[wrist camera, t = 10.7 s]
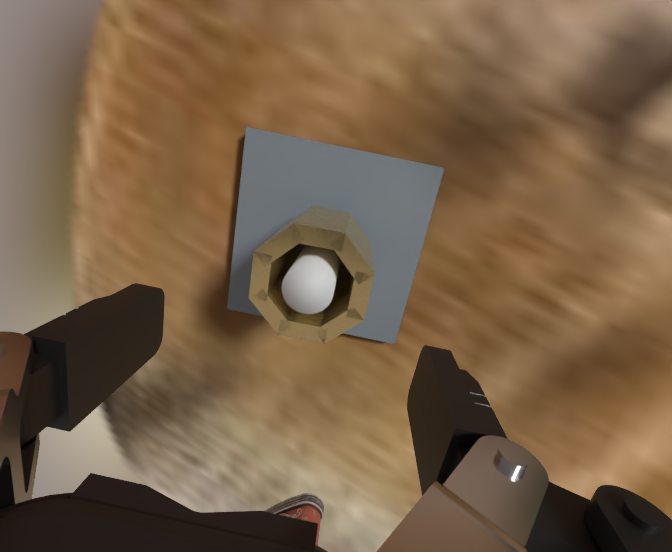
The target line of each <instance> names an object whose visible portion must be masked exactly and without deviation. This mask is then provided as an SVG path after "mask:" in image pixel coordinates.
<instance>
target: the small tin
mask: <svg viewBox="0 0 672 552" xmlns="http://www.w3.org/2000/svg"><path fill="white" fill-rule="evenodd" d="M323 511H324V504H323V502H322V500H321V499H320V498H319V497H317V496H316V495H313V494H308V493H306V494H302V495H299V496H296V497H293V498H290V499H287V500H285V501H283V502H281V503H279V504H276V505H274V506H273V507H271V508H270V509H268V510H267V511H265V512H269V513H273V514H278V515H282V516H287V517H291V518H296V519H301V520H305V521H310V522H314V523H318V529H317V536H316V544H315V545H318V536H319V527H320V521H321V520H322V519H323Z"/></svg>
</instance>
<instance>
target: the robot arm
mask: <svg viewBox="0 0 672 552" xmlns="http://www.w3.org/2000/svg"><path fill="white" fill-rule="evenodd" d="M163 318H164V292H163V290H162V289H160V288H156V287H151V286H146V285H142V284H137V283H135V284H132V285H130V286H128V287H126V288H124V289H122V290H120V291H118V292H117V293H115V294H113V295H110V296H106V297H102V298H98V299H94V300H92V301H90V302H88V303H86V304H84V305H82V306H80V307H79V308H78V309H74V310H72V311H70V312H68V313H66V315H62V316H60V317H58V318H56V319H54V320H52V321H50V322H48V323H46V324H44V325H42V326H40V327H38V328H36V329H34V330H32V331H30V332H28V333H26V334H20V333H15V332H0V552H327V551H326V550H324V549H322V548H321V547H319V546H317V545H315V544H316V536H317V529H318V523H314V522H310V521H305V520H301V519H296V518H291V517H287V516H282V515H278V514H273V513H269V512H264V511H245V512H213V513H199V512H195V511H192V510H190V509H188V508H187V507H185V506H183V505H181V504H179V503H177V502H176V501H174V500H172V499H170V498H168V497H166V496H165V495H163V494H161V493H159V492H157V491H155V490H154V489H152V488H150V487H148V486H146V485H142V484H137V483H133V482H128V481H124V480H119V479H114V478H110V477H105V476H101V475H96V474H92V473H90V475H89V476H88V477H87V478H86V479H85V480H84V481H83V482H82V484H81V485H80V486H79V487H78V488H77V489H76V490H75V491H74V492H73V493H64V494H56V495H49V496H44V497H39V498H35V499H32V492H33V485H34V479H35V472H36V465H37V458H38V451H39V445H40V440H39V432H41V431H42V430H43V429H44V428H45V427H52V428H56V429H61V430H65V431H71V430H72V429H73V428H74V427H75V426H76V425H78V424H79V423H80V422H81V421H82V420H83V419H84V418H85V417H86V416H88V415H89V414H90V413H91V412H92V411H93V410H94V409H95V408H96V407H97V406H99V405H100V404H101V403H102V402H103V401H104V400H105V399H106V398H107V397H109V396H110V395H111V394H112V393H113V392H114V391H115V390H116V389H117V388H118V387H120V386H121V385H122V384H123V383H124V382H125V381H126V380H127V379H128V378H130V377H131V376H132V375H133V374H134V373H135V372H136V371H137V370H138V369H139V368H141V367H142V366H143V365H144V364H145V363H146V362H147V361H148V360H149V359H151V358H152V357H153V356H154V355H155V354H156V352H157V351H158V349H159V347H160V344H161V341H162V337H163ZM484 395H485V394H484V392H483V390H482V389H481V387H480V385H479V383H478V382H477V381H476V380H475V379H474V378H473V377H472V376H471V375H470V374H469V373H468V372H467V371H466V370H461V369H459V368H458V365H457V363H456V361H455V359H454V357H453V355H452V352H451V351H450V350H446V349H441V348H436V347H431V346H427V345H425V346H424V347H423V348H422V351H421V353H420V357H419V360H418V363H417V366H416V370H415V373H414V376H413V379H412V383H411V386H410V389H409V394H408V402H407V410H408V416H409V422H410V427H411V433H412V439H413V445H414V451H415V456H416V462H417V468H418V474H419V479H420V485H421V491H422V497H421V498H420V500H419V501H418V502H417V503H416V504H415V506H414V507H413V508H412V509H411V511H410V512H409V513H408V514H407V515H406V517H405V518H404V519H403V520H402V522H401V523H400V524H399V525H398V526H397V528H396V529H395V530H394V531H393V532H392V534H391V535H390V536H389V537H388V539H387V540H386V541H385V542H384V543H383V545H382V546H381V547H380V548H379V550H378V551H377V552H672V520H671V519H670V518H669V517H668V516H667V515H666V514H664V513H663V512H662V511H661V510H660V509H658V508H657V507H656V506H654V505H653V504H651V503H650V502H648V501H647V500H645V499H644V498H642V497H640V496H639V495H637V494H635V493H633V492H631V491H628V490H626V489H623V488H620V487H617V486H612V485H603V486H600V487H598V489H597V490H596V492H595V493H594V495H593V497H592V499H591V501H590V500H588V499H586V498H584V497H582V496H579V495H577V494H575V493H573V492H570V491H568V490H566V489H564V488H561V487H559V486H557V485H555V484H553V483H551V482H549V478H548V474H547V472H546V470H545V468H544V467H543V465H542V464H541V462H540V461H539V460H538V459H537V458H536V457H535V456H534V455H533V454H532V453H530V452H529V451H528V450H526V449H525V448H524V447H522V446H520V445H519V444H517V443H515V442H513V441H511V440H509V439H508V438H507V437H506V435H505V433H504V431H503V429H502V427H501V425H500V423H499V421H498V419H497V417H496V415H495V413H494V412H493V410H492V408H490V404H489V402H488V400H487V398H486V397H484Z"/></svg>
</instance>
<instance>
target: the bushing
mask: <svg viewBox="0 0 672 552" xmlns="http://www.w3.org/2000/svg"><path fill="white" fill-rule="evenodd" d="M298 244H304V245H309V246H315V247H320V248H325V249H330V250H334V251H335V252H336V253H337V255H338V256H339V258H340V259H341V261H342V262H343V263H344V265H345V266H346V268H347V269H348V270H349V272H348V273H346V274H345V275H343V276H341V277H340V278H338V279H337V280H336V285H335V290H334V295H333V298H332V301H331V302H330V304H329V305H328V306H327V307H326V308H325V309H324V310H322V311H320V312H318V313H314V314H304V313H300V312H297V311H295V310H294V309H292V308H291V307H290V306H289V305H288V304H287V303H286V301H285V299H284V297H283V294H282V282H283V279H284V277H285V276H286V274H287V272H288V271H289V269H290V268H291V266H292V265H293V263H294V260H293V259H292V258H293V251H294V247H295V246H296V245H298ZM373 279H374V267H373V258H372V249H371V243H370V241H369V240H368V238H367V237H366V235H365V234H364V232H363V231H362V229H361V228H360V227H359V225H358V224H357V222H356V221H355V219H354V218H353V216H352V215H351V213H350V212H344V211H339V210H334V209H329V208H323V207H318V206H312V207H310V208H309V209H307V210H306V211H305V212H303V213H302V214H300V215H299V216H297V217H296V218H295V219H293V220H292V221H290V222H289V223H288V224H286V225H285V226H283V227H282V228H281V229H280V230H279V231H277V232H276V233H275V234H274V235H273V236H272V237H270V238H269V239H268V240H267V241H266V242H264V243H263V244H262V245H261V246H260V247H259V248H257V249H256V250H255V251H254V253H253V263H252V272H251V281H250V290H249V299H250V300H251V302H252V303H253V304H254V305H255V307H256V308H257V309H258V310H259V312H260V313H261V314H262V315H263V317H264V318H265V319H266V320H267V322H268V323H269V324H270V325H271V327H272V328H273V329H274V330H275V332H276V333H277V334H278V335H281V336H286V337H291V338H296V339H302V340H307V341H312V342H317V343H322V344H325V343H327V342H329V341H330V340H332V339H334V338H335V337H337V336H339V335H340V334H342V333H344V332H346V331H347V330H349V329H351V328H352V327H354V326H356V325H357V324H359V323H361V322H362V321H364V319H365V314H366V310H367V305H368V301H369V297H370V292H371V288H372V283H373Z"/></svg>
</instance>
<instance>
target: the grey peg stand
mask: <svg viewBox="0 0 672 552" xmlns="http://www.w3.org/2000/svg"><path fill="white" fill-rule="evenodd" d="M443 172H444V168H443V167H438V166H433V165H428V164H423V163H418V162H414V161H409V160H404V159H399V158H394V157H389V156H384V155H380V154H375V153H370V152H365V151H360V150H355V149H351V148H346V147H341V146H336V145H331V144H326V143H322V142H317V141H312V140H307V139H302V138H297V137H293V136H288V135H283V134H278V133H273V132H268V131H263V130H259V129H254V128H249V127H246V133H245V142H244V151H243V161H242V170H241V180H240V189H239V199H238V208H237V218H236V227H235V237H234V246H233V255H232V265H231V274H230V284H229V293H228V303H227V309H229V310H234V311H238V312H243V313H248V314H253V315H258V316H262V317H263V315H262V314H261V313H260V312H259V310H258V309H257V308H256V307H255V305H254V304H253V303H252V302H251V300H250V299H249V290H250V281H251V272H252V263H253V253H254V251H255V250H256V249H257V248H259V247H260V246H261V245H262V244H263V243H264V242H266V241H267V240H268V239H269V238H270V237H272V236H273V235H274V234H275V233H276V232H277V231H279V230H280V229H281V228H282V227H283V226H285V225H286V224H288V223H289V222H290V221H292V220H293V219H295V218H296V217H297V216H299V215H300V214H302V213H303V212H305V211H306V210H307V209H309V208H310V207H312V206H318V207H323V208H329V209H334V210H339V211H344V212H350V213H351V215H352V216H353V218H354V219H355V221H356V222H357V224H358V225H359V227H360V228H361V229H362V231H363V232H364V234H365V235H366V237H367V238H368V240H369V241H370V243H371V249H372V258H373V267H374V279H373V283H372V288H371V292H370V297H369V301H368V305H367V310H366V314H365V319H364V321H362V322H361V323H359V324H357V325H356V326H354V327H352V328H351V329H349V330H347V331H346V332H344V334H349V335H353V336H358V337H363V338H368V339H373V340H377V341H382V342H387V343H392V344H395V342H396V339H397V335H398V332H399V328H400V324H401V321H402V317H403V314H404V310H405V307H406V303H407V300H408V296H409V292H410V289H411V285H412V282H413V278H414V275H415V271H416V268H417V264H418V260H419V257H420V253H421V250H422V246H423V243H424V239H425V236H426V232H427V229H428V225H429V221H430V218H431V214H432V211H433V207H434V204H435V200H436V197H437V193H438V189H439V186H440V182H441V179H442V175H443ZM292 259H293V260H294V263H293V265H292V266H291V268H290V269H289V271H288V272H287V274H286V276H285V277H284V279H283V282H282V294H283V297H284V299H285V301H286V303H287V304H288V305H289V306H290V307H291V308H292V309H294V310H295V311H297V312H300V313H304V314H314V313H318V312H320V311H322V310H324V309H325V308H326V307H327V306H328V305H329V304H330V302H331V301H332V298H333V295H334V290H335V285H336V280H337V279H338V278H340V277H341V276H343V275H345V274H346V273H348V272H349V270H348V269H347V268H346V266H345V265H344V263H343V262H342V261H341V259H340V258H339V256H338V255H337V253H336V252H335V251H334V250H330V249H325V248H320V247H315V246H309V245H304V244H298V245H296V246H295V247H294V251H293V258H292Z"/></svg>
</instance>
